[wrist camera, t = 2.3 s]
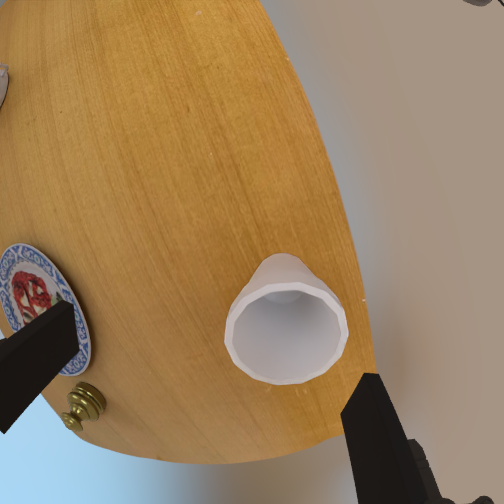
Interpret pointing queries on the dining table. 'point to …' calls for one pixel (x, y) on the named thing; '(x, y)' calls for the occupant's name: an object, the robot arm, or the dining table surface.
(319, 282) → the foam cup
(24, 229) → the dining table surface
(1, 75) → the mug
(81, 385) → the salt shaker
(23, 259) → the ceramic plate
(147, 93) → the dining table surface
